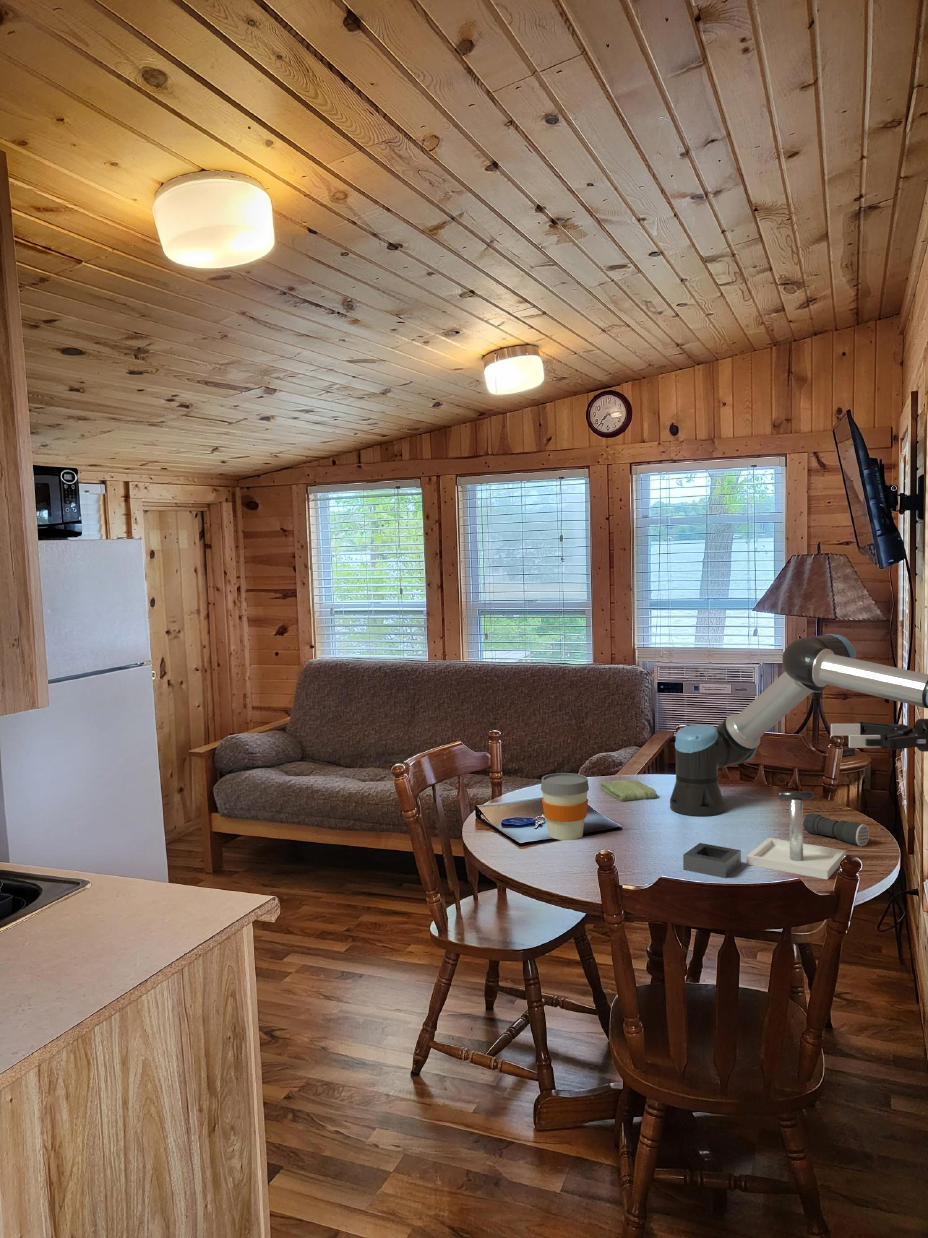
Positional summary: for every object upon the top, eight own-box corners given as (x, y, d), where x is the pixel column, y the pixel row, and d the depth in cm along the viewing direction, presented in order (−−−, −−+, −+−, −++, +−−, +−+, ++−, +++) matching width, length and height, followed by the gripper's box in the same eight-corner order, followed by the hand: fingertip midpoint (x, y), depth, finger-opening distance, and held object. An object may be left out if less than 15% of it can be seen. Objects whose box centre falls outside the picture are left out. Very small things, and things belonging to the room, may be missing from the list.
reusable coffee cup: (556, 845, 222) (555, 787, 221) (533, 831, 233) (532, 776, 232) (598, 837, 227) (597, 780, 226) (574, 824, 238) (573, 770, 237)
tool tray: (746, 864, 204) (746, 856, 204) (768, 845, 217) (768, 837, 217) (827, 879, 193) (827, 870, 193) (845, 858, 206) (845, 850, 206)
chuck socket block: (683, 869, 202) (683, 854, 202) (699, 857, 210) (699, 843, 210) (725, 878, 196) (725, 862, 196) (741, 865, 204) (740, 850, 204)
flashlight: (801, 834, 226) (801, 813, 226) (813, 830, 229) (813, 809, 229) (857, 848, 213) (857, 827, 213) (869, 844, 217) (869, 822, 216)
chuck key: (779, 861, 204) (779, 793, 203) (776, 856, 207) (776, 790, 206) (816, 861, 203) (815, 793, 202) (812, 856, 206) (812, 790, 205)
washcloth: (636, 785, 279) (636, 776, 278) (659, 800, 261) (659, 789, 261) (597, 789, 276) (597, 779, 276) (618, 804, 259) (618, 793, 259)
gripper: (961, 764, 187) (857, 764, 190) (915, 740, 212) (824, 740, 215) (961, 729, 187) (857, 729, 189) (915, 709, 212) (824, 710, 214)
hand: (839, 735), depth 202 cm, fingers open, 13 cm apart
